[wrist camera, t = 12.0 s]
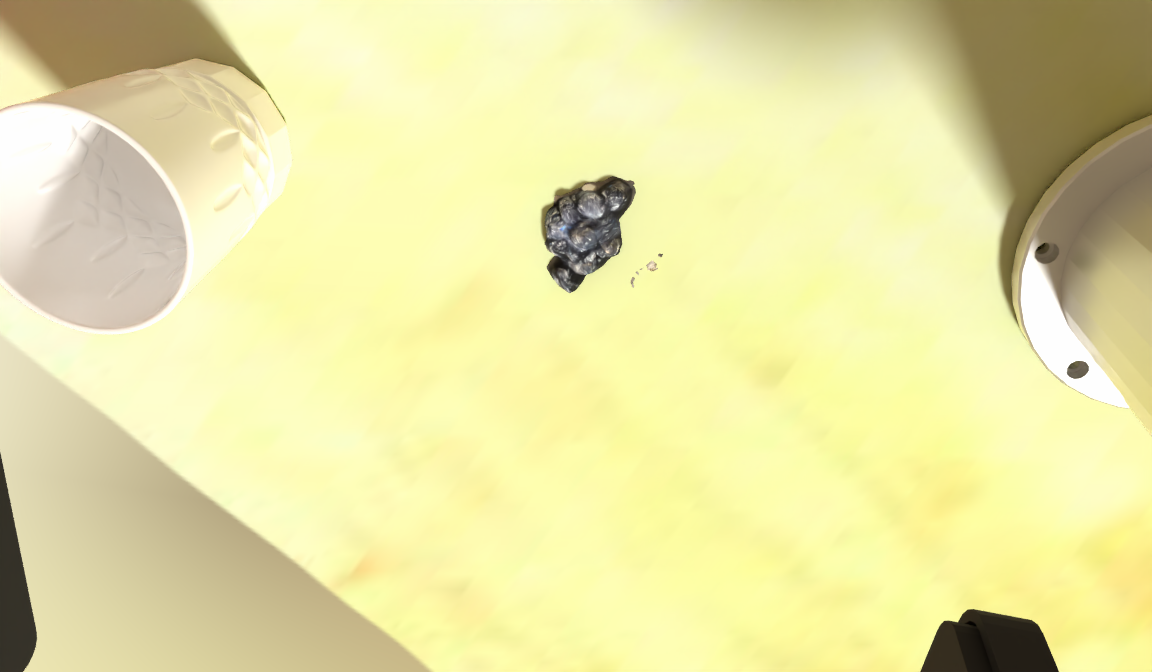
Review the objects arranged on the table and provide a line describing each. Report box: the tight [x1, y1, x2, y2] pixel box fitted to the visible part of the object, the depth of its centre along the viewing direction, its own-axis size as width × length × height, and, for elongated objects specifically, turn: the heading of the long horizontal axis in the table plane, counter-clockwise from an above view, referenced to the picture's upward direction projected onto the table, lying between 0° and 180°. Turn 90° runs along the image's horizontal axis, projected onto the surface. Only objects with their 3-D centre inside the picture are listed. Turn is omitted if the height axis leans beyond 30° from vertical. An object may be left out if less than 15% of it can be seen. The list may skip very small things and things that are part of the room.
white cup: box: [0, 58, 293, 334], centre depth 34 cm, size 8×8×10 cm
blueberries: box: [545, 176, 663, 293], centre depth 39 cm, size 7×8×2 cm
